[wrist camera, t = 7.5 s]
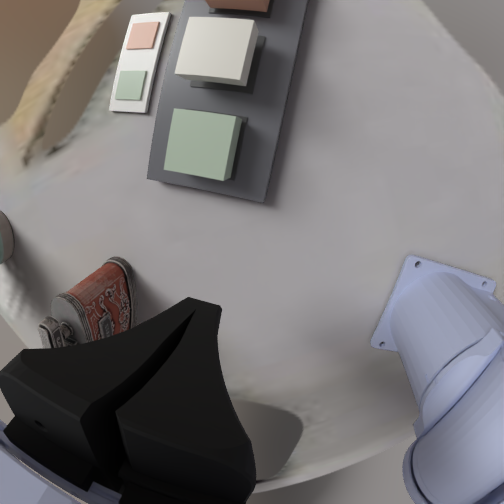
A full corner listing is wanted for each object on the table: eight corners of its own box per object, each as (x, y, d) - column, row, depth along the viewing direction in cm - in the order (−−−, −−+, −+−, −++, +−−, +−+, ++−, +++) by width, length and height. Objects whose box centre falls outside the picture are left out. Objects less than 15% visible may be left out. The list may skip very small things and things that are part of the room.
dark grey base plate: (313, -24, 13) (314, -33, 12) (265, 199, 20) (263, 203, 18) (203, -32, 14) (198, -40, 13) (154, 176, 20) (145, 179, 19)
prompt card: (171, 13, 16) (168, 11, 15) (147, 113, 19) (143, 112, 18) (134, 16, 16) (130, 14, 15) (111, 111, 19) (107, 110, 18)
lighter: (138, 339, 26) (83, 414, 16) (108, 329, 26) (49, 395, 17) (136, 261, 23) (56, 327, 13) (103, 252, 23) (20, 309, 14)
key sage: (242, 119, 16) (236, 116, 15) (230, 177, 18) (223, 180, 16) (185, 111, 17) (173, 108, 15) (175, 166, 18) (163, 169, 16)
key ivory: (258, 31, 14) (254, 20, 12) (246, 86, 15) (239, 79, 13) (199, 27, 14) (189, 16, 12) (186, 79, 15) (174, 73, 13)
